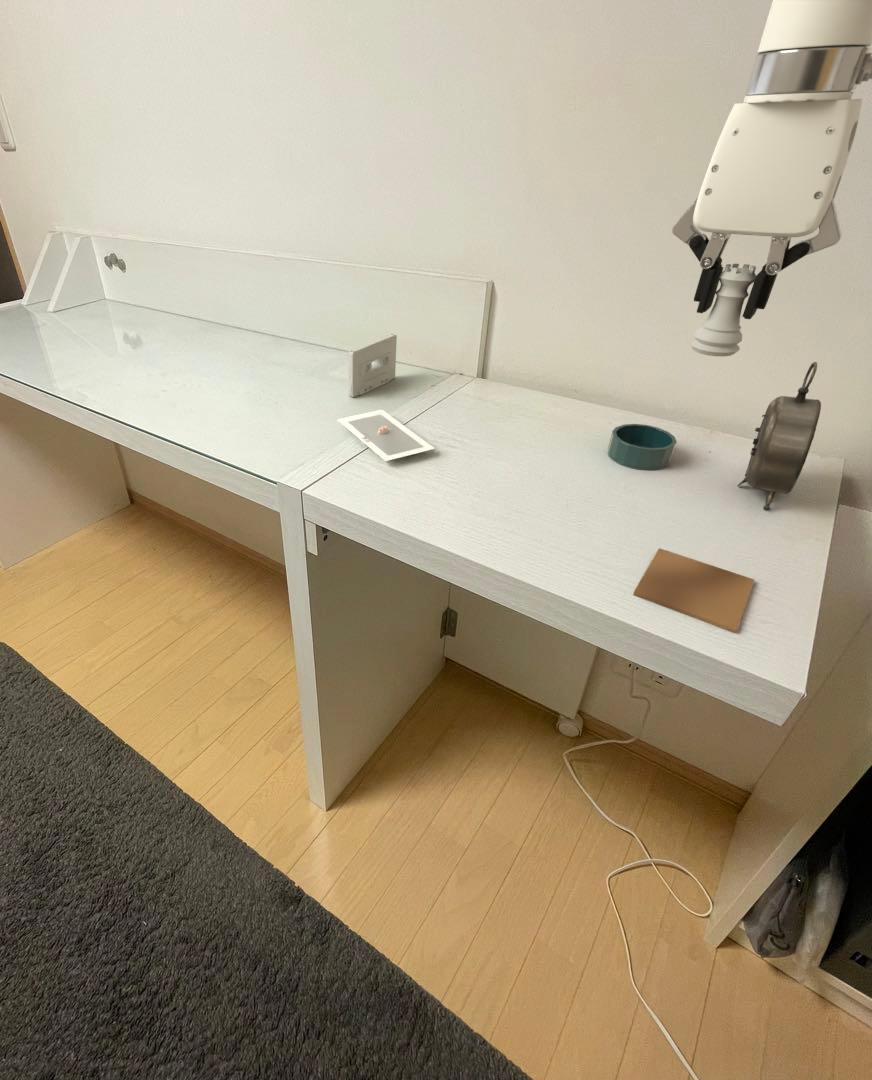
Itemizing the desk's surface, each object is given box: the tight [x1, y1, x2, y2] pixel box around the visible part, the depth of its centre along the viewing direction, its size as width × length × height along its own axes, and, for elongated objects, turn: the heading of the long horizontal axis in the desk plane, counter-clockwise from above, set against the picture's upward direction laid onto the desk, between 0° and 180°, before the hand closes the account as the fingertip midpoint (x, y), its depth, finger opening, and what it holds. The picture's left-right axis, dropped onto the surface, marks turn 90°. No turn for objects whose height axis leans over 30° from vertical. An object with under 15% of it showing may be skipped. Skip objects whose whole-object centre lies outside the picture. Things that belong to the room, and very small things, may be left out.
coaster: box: [632, 547, 755, 634], centre depth 60 cm, size 9×9×1 cm
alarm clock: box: [737, 361, 822, 511], centre depth 70 cm, size 11×5×16 cm, turn 147°
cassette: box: [348, 333, 398, 398], centre depth 103 cm, size 12×2×8 cm, turn 139°
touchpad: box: [336, 409, 436, 462], centre depth 88 cm, size 8×15×2 cm, turn 25°
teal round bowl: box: [606, 423, 677, 471], centre depth 82 cm, size 8×8×3 cm
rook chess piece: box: [690, 263, 757, 358], centre depth 60 cm, size 4×4×8 cm
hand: (726, 311), depth 60 cm, fingers closed on rook chess piece, 3 cm apart
